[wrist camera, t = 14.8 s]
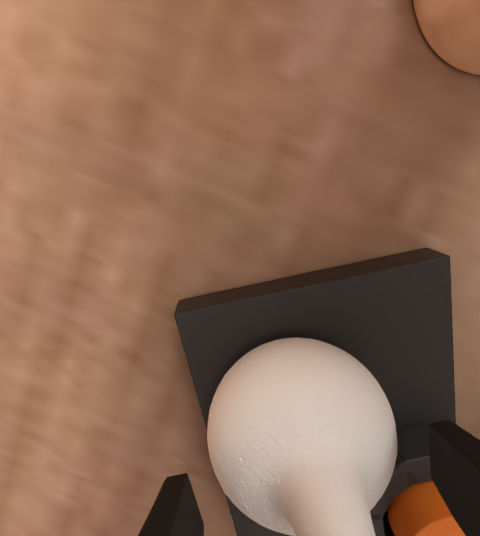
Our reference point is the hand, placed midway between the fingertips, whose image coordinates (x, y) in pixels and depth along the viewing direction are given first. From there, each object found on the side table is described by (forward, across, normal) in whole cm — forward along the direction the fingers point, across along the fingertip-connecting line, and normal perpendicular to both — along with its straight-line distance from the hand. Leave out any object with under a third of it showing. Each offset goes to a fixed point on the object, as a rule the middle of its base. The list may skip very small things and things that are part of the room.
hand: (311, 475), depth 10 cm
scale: (+5, -2, +2) cm, 5 cm away
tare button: (+2, -4, +5) cm, 7 cm away
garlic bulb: (+4, 0, 0) cm, 4 cm away
